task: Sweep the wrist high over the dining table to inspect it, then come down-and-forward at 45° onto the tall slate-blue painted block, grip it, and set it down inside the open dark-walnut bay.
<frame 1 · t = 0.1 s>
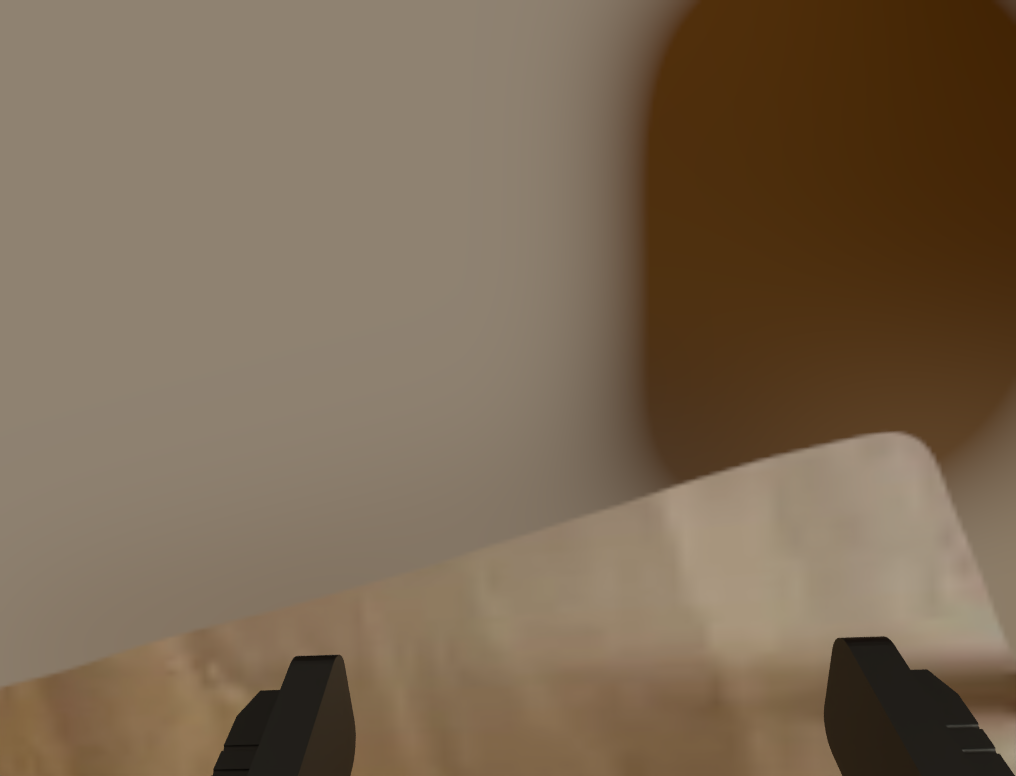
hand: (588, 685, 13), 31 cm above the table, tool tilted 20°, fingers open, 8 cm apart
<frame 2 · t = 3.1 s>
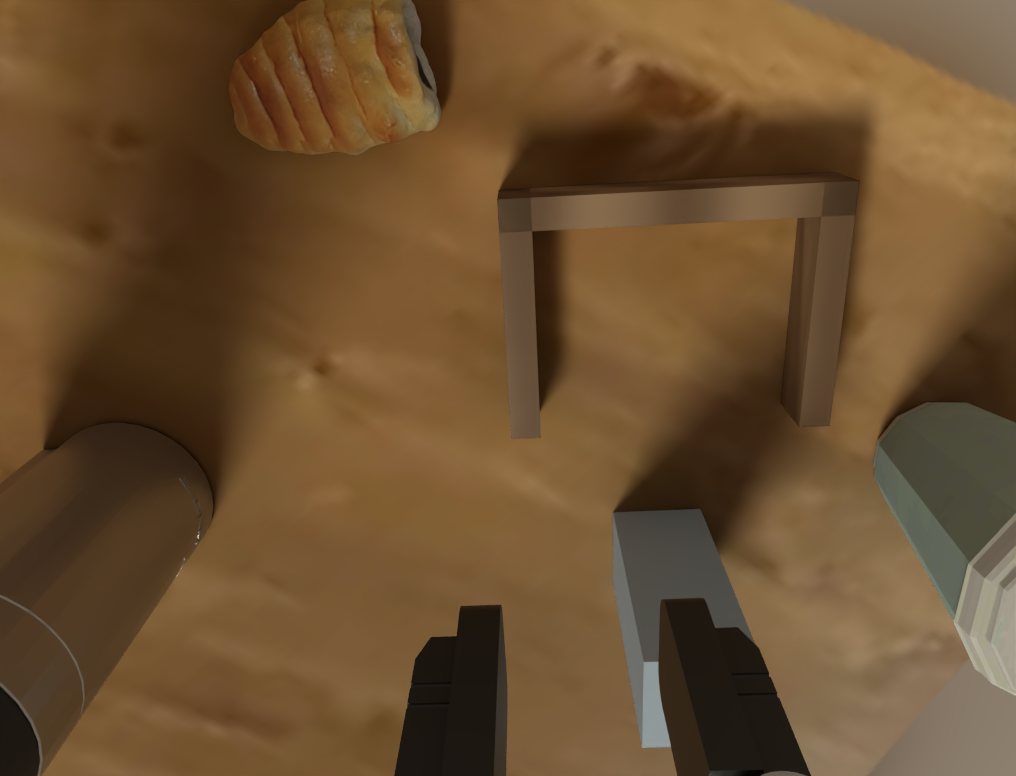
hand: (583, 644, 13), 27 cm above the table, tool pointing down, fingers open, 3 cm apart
disposable coffee cup: (930, 444, 42), on the table
pastry: (352, 80, 36), on the table
walnut bay: (662, 301, 39), on the table
slate block: (655, 547, 45), on the table
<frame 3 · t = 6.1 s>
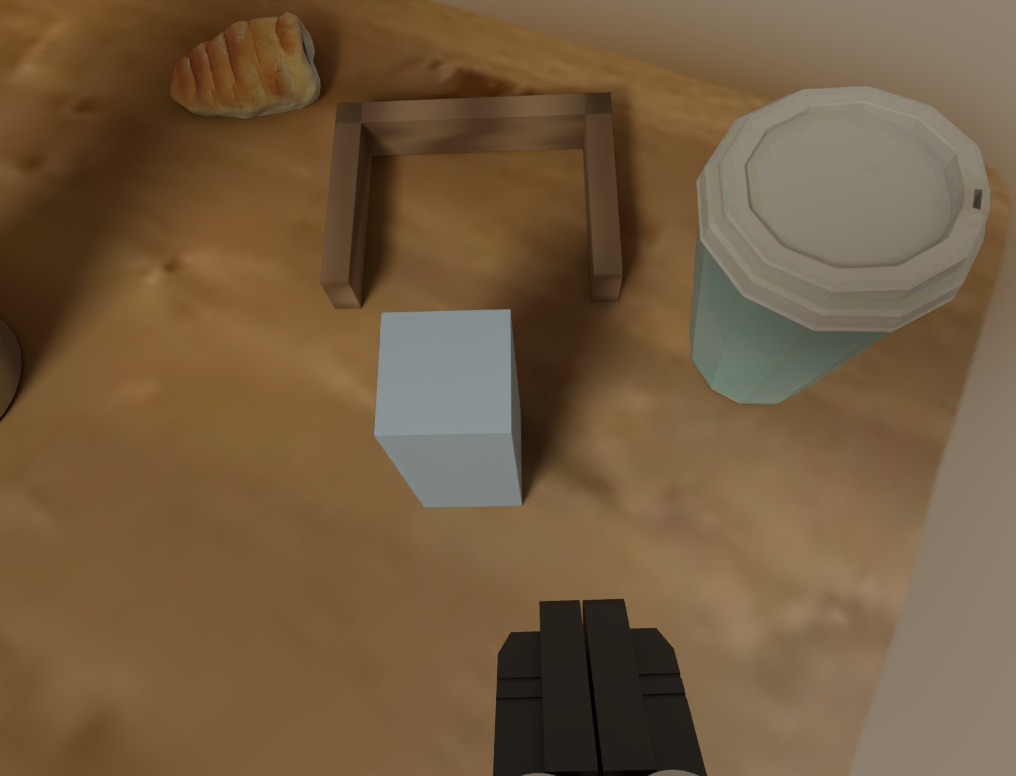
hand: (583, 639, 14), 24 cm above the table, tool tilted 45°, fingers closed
disposable coffee cup: (750, 348, 41), on the table
pastry: (263, 88, 50), on the table
walnut bay: (476, 214, 45), on the table
slate block: (473, 459, 40), on the table
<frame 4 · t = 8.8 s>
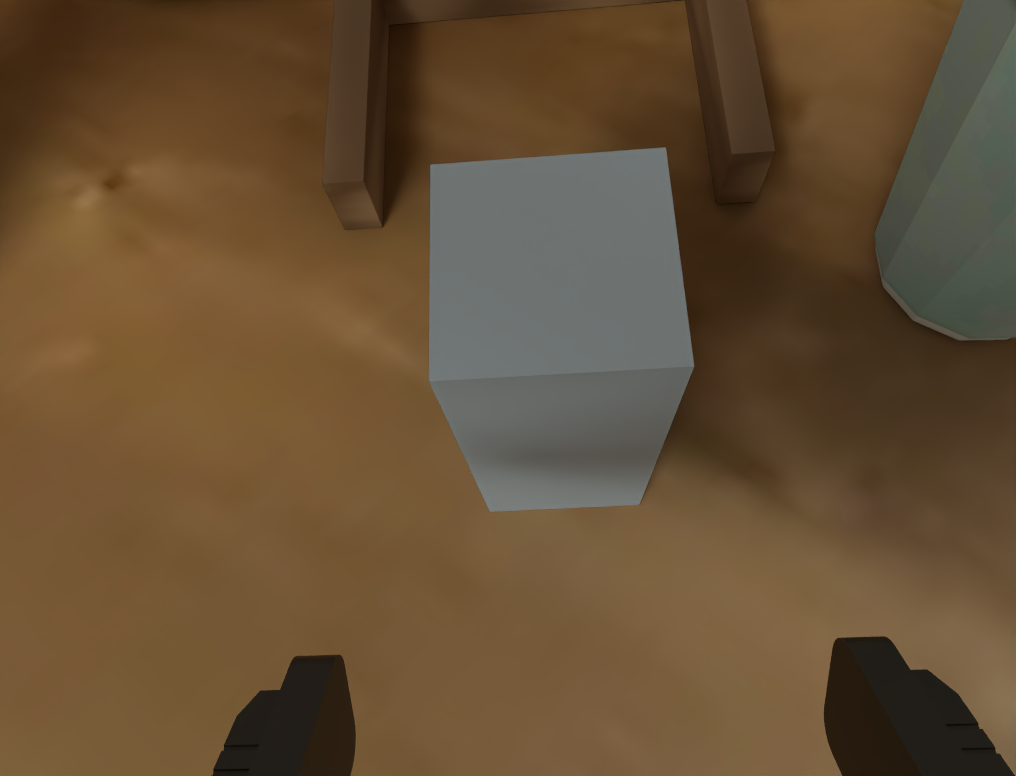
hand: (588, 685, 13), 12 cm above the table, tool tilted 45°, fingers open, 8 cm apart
disposable coffee cup: (960, 260, 28), on the table
walnut bay: (540, 93, 32), on the table
slate block: (560, 437, 26), on the table
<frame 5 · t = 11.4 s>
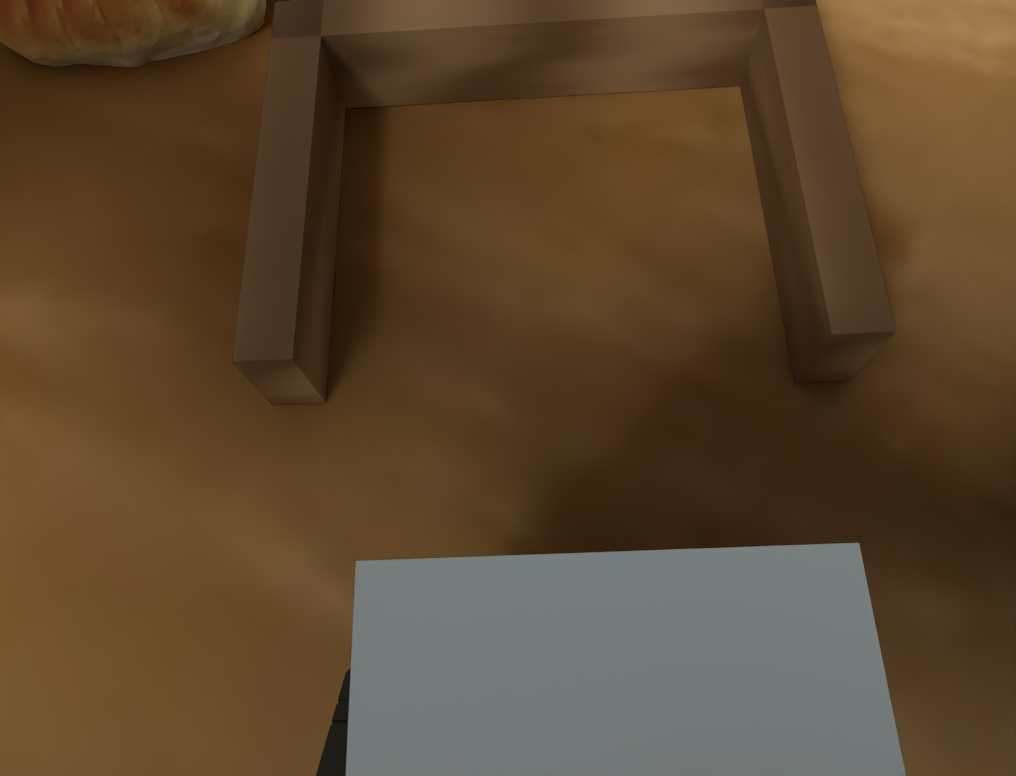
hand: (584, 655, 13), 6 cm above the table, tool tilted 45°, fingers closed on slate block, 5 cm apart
pastry: (163, 16, 28), on the table
walnut bay: (547, 211, 23), on the table
slate block: (578, 751, 18), on the table, touching gripper
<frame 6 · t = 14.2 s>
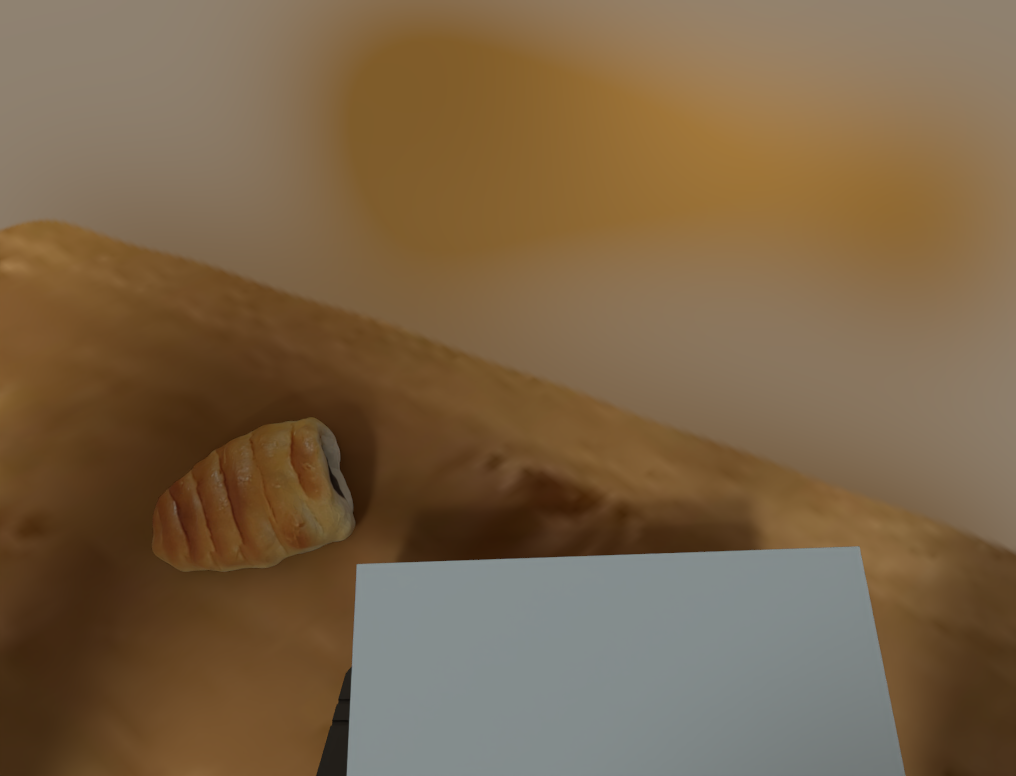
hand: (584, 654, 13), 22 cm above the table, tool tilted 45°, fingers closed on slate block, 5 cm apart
pastry: (275, 508, 38), on the table
slate block: (577, 753, 18), point 16 cm above the table, touching gripper
when the fingers open (7 cm above the table, at t = 17.1 s): slate block stays where it is, on the table.
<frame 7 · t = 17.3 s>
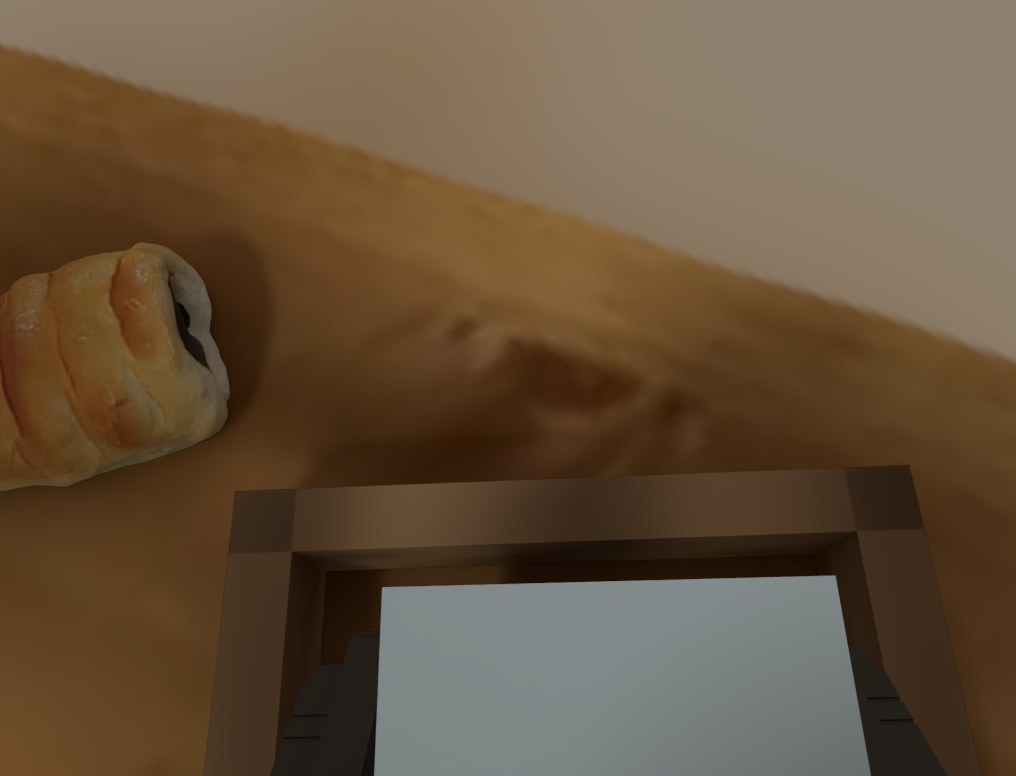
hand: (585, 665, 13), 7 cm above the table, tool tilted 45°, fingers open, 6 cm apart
pastry: (107, 396, 23), on the table
walnut bay: (577, 749, 19), on the table
slate block: (577, 754, 19), on the table
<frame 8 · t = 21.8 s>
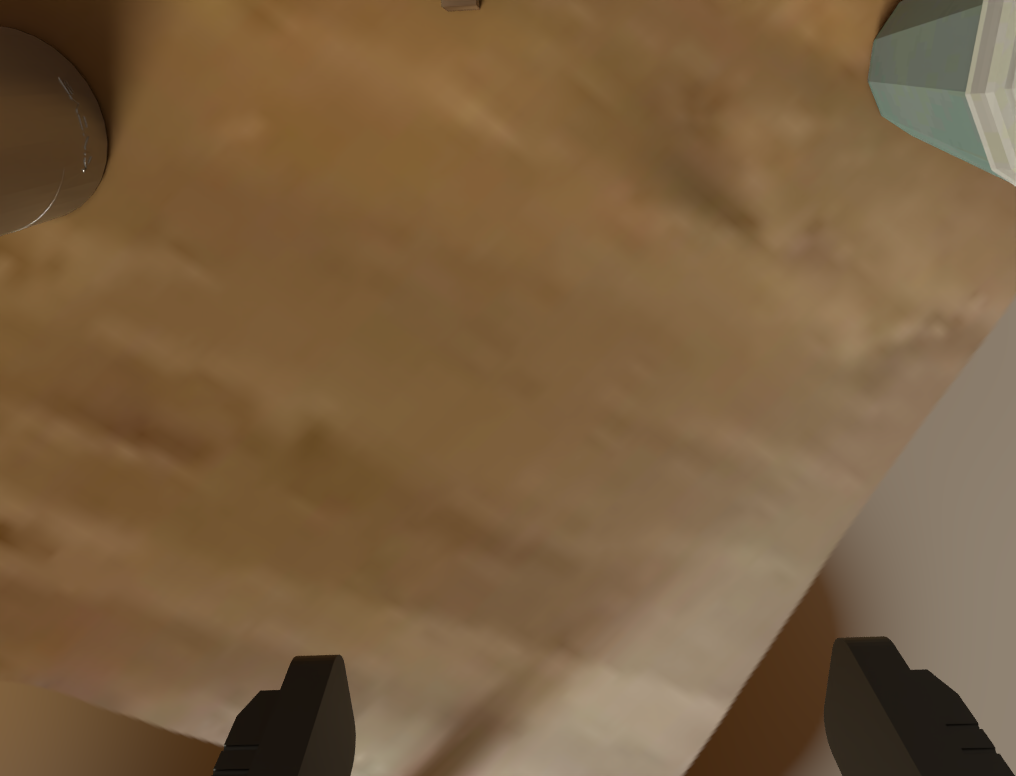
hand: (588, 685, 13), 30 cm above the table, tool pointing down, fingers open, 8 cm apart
disposable coffee cup: (934, 52, 36), on the table
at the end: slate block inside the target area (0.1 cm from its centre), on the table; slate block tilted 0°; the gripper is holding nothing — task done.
